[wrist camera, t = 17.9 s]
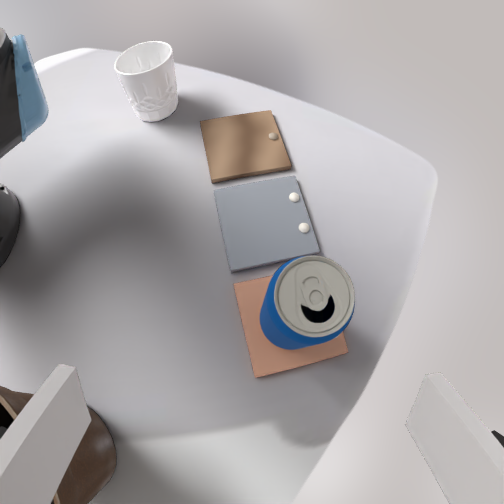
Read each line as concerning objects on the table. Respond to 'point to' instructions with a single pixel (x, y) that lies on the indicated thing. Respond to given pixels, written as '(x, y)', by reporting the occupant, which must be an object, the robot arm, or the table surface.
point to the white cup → (149, 79)
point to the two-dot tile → (264, 223)
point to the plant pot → (84, 459)
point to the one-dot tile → (243, 146)
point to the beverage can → (307, 303)
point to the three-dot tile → (266, 353)
